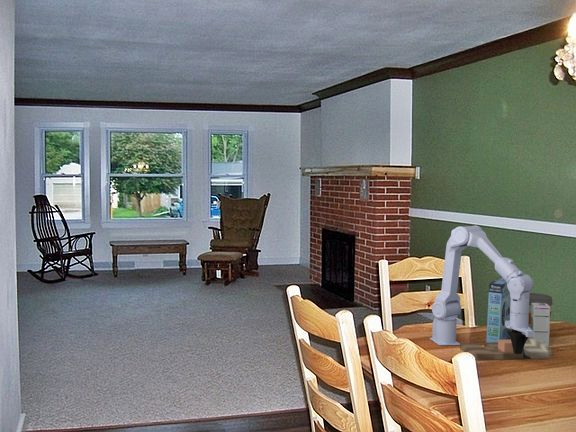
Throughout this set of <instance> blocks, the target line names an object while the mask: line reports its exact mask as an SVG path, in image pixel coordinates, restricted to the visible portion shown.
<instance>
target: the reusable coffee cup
mask: <svg viewBox="0 0 576 432" xmlns="http://www.w3.org/2000/svg"><path fill="white" fill-rule="evenodd" d="M531 303H546V304H548V305H549V306H550V318H551V317H552V316H551V315H552V310H551V308H552V306H553V296H551V295H548V294H544V293H536V292H530V296H529V320H528V326H529V327H530V329H531Z"/></svg>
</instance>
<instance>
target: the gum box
mask: <svg viewBox="0 0 576 432" xmlns="http://www.w3.org/2000/svg"><path fill="white" fill-rule="evenodd" d="M507 284H508V283H507V282H506V281H505V280H504V279H503V278H502V277H501V276H499V277H497V278H495V279H494V280H492V281H490V282H489V283H488V300H487V301H488V302H487V303H488V305H487V321H486V341H485V343H487V342H498V340H509V339H510V337H509V335H508V331H512V329H509V328H507V327H506V326H505V321H510V301H511V297H510V291H509V290H508V287H507Z"/></svg>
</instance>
